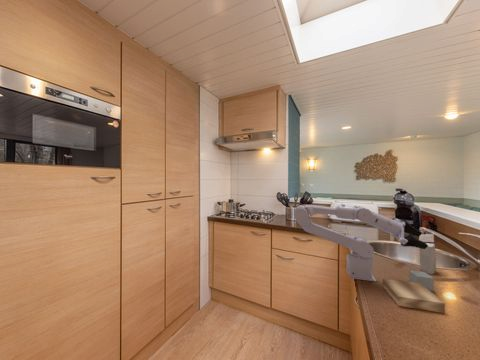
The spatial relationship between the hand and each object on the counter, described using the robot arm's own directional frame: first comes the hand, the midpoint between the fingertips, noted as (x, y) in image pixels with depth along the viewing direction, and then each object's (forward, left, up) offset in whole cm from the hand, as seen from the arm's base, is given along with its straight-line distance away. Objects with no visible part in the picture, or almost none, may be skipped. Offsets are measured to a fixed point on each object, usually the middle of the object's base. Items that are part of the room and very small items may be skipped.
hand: (423, 240), depth 75 cm
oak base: (-10, -12, -17) cm, 23 cm away
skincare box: (+9, +15, -18) cm, 25 cm away
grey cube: (-2, -2, -18) cm, 18 cm away
